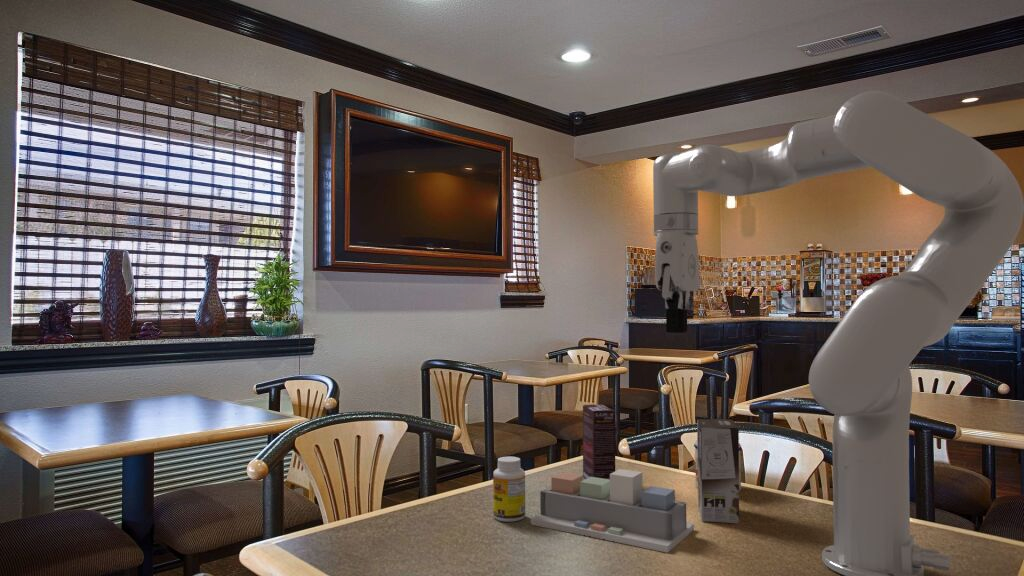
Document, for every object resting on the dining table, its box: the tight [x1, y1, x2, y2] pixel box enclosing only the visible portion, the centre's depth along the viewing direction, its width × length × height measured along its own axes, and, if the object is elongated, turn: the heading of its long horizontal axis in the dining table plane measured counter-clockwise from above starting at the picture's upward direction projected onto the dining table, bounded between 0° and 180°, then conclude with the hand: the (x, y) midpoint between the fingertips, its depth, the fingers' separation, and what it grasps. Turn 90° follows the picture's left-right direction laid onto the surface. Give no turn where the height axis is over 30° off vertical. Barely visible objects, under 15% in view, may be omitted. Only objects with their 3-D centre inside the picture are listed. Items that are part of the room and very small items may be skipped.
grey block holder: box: [530, 485, 695, 554], centre depth 113 cm, size 24×12×5 cm, turn 57°
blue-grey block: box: [642, 485, 676, 511], centre depth 108 cm, size 4×4×5 cm
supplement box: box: [582, 404, 616, 480], centre depth 138 cm, size 9×5×16 cm, turn 9°
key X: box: [610, 468, 644, 505], centre depth 111 cm, size 4×4×5 cm
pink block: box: [551, 471, 583, 495], centre depth 117 cm, size 4×4×5 cm
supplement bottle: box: [492, 456, 526, 523], centre depth 118 cm, size 6×6×10 cm
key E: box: [580, 477, 610, 500], centre depth 114 cm, size 4×4×5 cm
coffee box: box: [696, 418, 740, 524], centre depth 119 cm, size 9×6×16 cm
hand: (676, 332), depth 117 cm, fingers closed
